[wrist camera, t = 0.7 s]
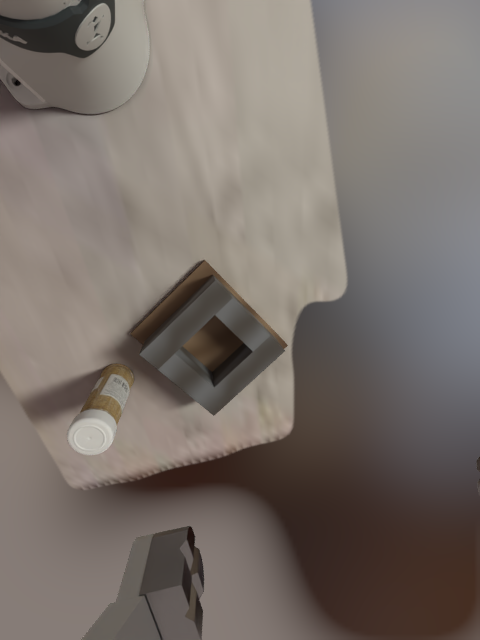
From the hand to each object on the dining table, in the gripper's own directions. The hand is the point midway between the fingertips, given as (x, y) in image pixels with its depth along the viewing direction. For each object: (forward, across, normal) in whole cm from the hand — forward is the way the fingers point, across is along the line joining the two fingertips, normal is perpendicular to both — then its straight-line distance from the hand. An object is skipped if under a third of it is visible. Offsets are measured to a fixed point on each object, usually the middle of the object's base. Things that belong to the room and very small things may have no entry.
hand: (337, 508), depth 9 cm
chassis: (+36, +5, +5) cm, 37 cm away
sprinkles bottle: (+36, +20, +7) cm, 42 cm away
